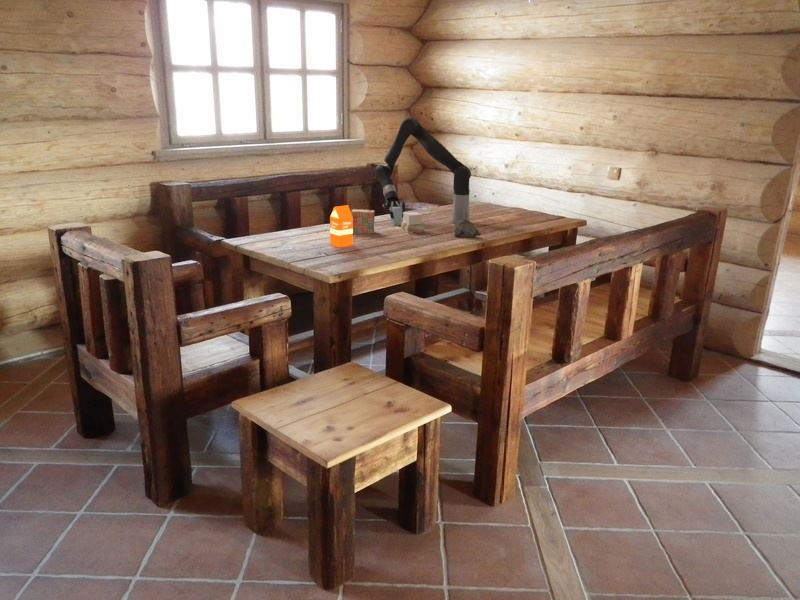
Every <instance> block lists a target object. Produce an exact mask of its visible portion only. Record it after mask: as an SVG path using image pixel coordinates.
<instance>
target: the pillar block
mask: <svg viewBox="0 0 800 600" xmlns="http://www.w3.org/2000/svg"><path fill="white" fill-rule="evenodd" d="M392 212H393V215H394V219H392V218H391V217H390V225H392V224H393V225H392V226H401V221H403V218H402V206H400V207H392Z"/></svg>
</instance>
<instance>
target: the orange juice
mask: <svg viewBox="0 0 800 600" xmlns="http://www.w3.org/2000/svg"><path fill="white" fill-rule="evenodd" d="M349 206H350V205H349V204H347V205H339V206H334V207H333V209H332V212H331V214H330V216H329V234H330V236H329V237H330V238H329V241H330V245H331V246H334V247H337V248H343V247H344V248H345V247H349V246H353V245H354V243H353V241H354V240H353V238H354V235H353V234H354V233H353V217H352V214H351V209H350V207H349Z"/></svg>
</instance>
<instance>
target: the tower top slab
mask: <svg viewBox="0 0 800 600" xmlns="http://www.w3.org/2000/svg"><path fill="white" fill-rule="evenodd" d="M402 221H403V222H405V223H407V224H422V223H423V214H421V213H419V212H417V211H413V212H412V211H411V212H403V218H402Z"/></svg>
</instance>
